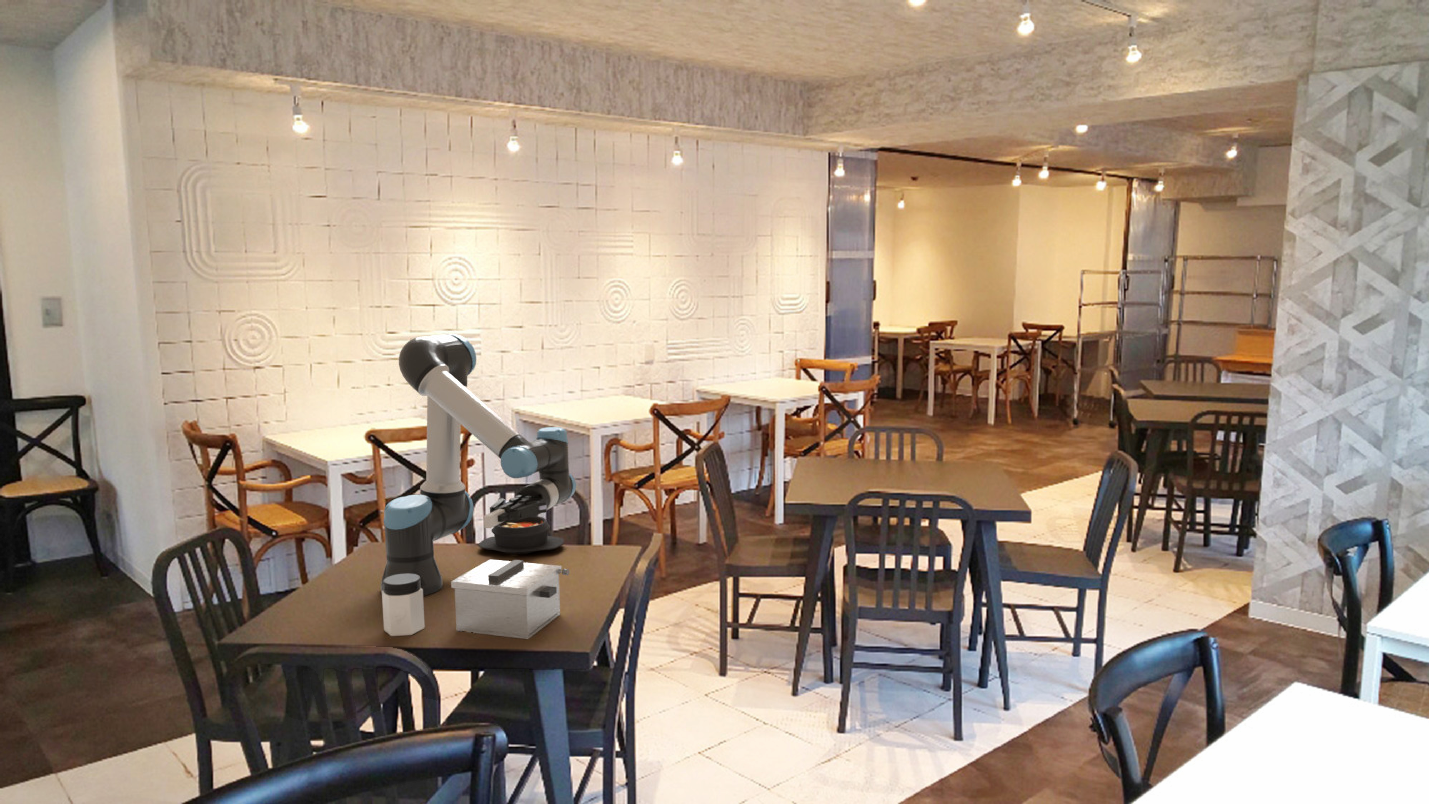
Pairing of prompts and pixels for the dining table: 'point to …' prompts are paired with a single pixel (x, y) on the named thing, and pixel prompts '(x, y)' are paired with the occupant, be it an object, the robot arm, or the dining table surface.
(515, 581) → the lid
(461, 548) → the dining table surface
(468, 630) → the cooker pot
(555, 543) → the casserole
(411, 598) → the jar
